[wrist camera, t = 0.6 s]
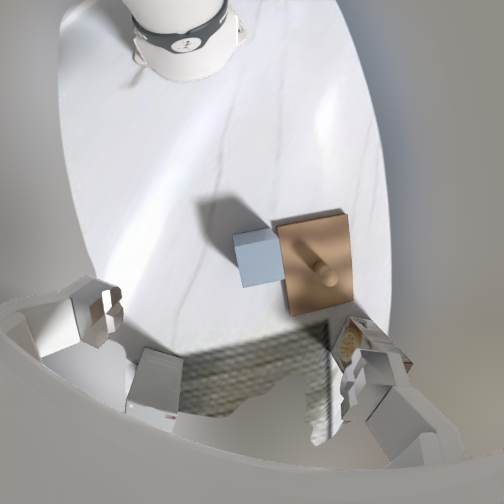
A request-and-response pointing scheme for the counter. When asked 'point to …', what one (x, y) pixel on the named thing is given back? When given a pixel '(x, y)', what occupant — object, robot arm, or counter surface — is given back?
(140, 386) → the skincare box
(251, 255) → the pale blue cube
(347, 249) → the post base
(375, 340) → the coffee box
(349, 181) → the counter surface
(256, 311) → the counter surface
